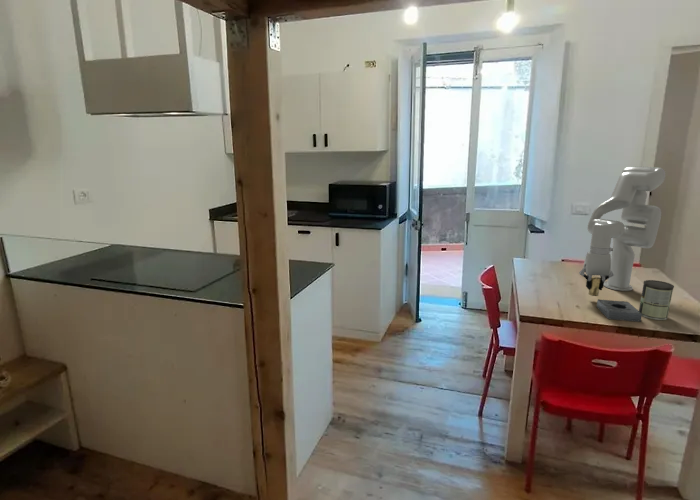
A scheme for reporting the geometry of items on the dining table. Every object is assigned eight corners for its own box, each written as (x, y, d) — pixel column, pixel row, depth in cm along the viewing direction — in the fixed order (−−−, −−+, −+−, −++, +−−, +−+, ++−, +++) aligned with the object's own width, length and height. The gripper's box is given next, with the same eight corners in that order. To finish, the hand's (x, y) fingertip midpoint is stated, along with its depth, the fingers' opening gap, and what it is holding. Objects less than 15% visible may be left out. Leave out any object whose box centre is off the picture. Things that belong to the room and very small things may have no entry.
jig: (596, 306, 188) (597, 299, 187) (626, 309, 185) (627, 301, 185) (608, 318, 175) (609, 310, 174) (640, 321, 172) (642, 313, 171)
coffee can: (632, 310, 184) (637, 279, 180) (655, 310, 184) (661, 279, 181) (649, 320, 174) (655, 287, 170) (673, 320, 174) (680, 287, 171)
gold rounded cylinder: (587, 292, 197) (589, 276, 195) (596, 293, 196) (599, 276, 194) (590, 295, 193) (592, 279, 191) (599, 296, 192) (602, 279, 190)
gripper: (617, 248, 191) (611, 287, 196) (576, 247, 194) (571, 285, 199) (623, 253, 184) (617, 293, 189) (581, 251, 187) (576, 290, 192)
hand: (594, 288), depth 194 cm, fingers closed on gold rounded cylinder, 4 cm apart
